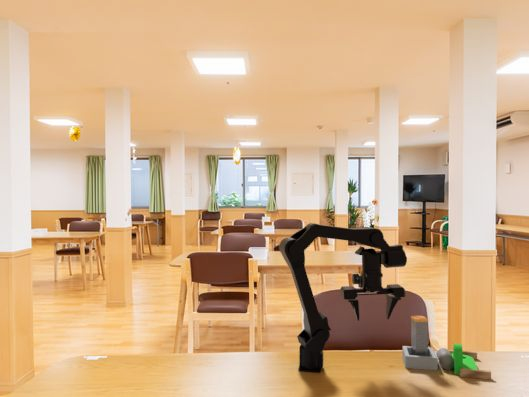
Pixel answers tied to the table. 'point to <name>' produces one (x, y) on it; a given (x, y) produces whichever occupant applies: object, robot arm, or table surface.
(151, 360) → the table surface
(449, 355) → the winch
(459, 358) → the mechanical part
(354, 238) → the robot arm
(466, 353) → the bay rails
